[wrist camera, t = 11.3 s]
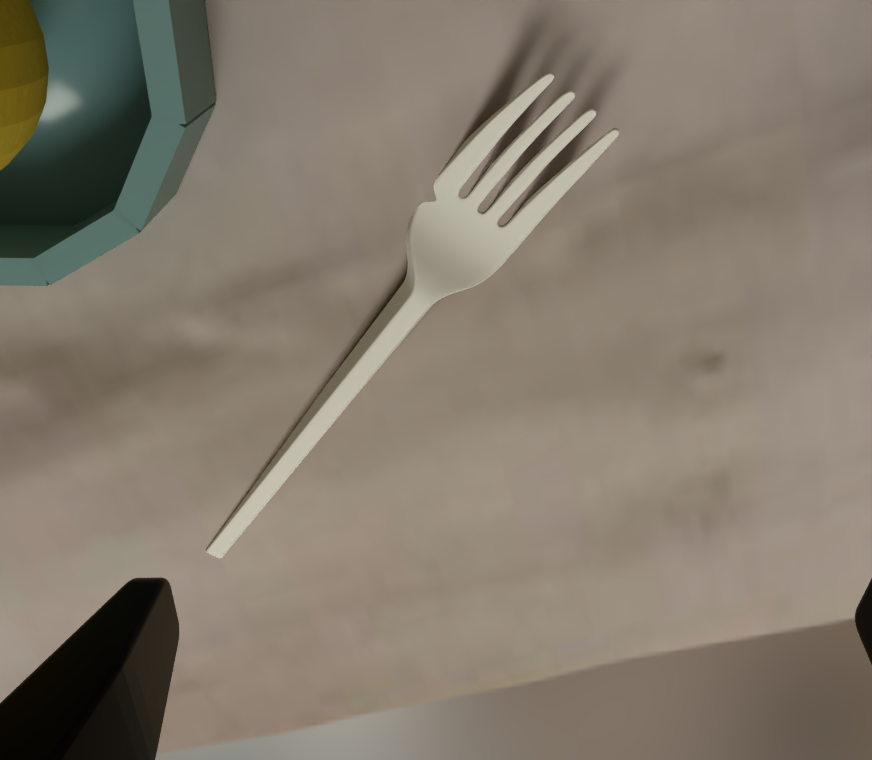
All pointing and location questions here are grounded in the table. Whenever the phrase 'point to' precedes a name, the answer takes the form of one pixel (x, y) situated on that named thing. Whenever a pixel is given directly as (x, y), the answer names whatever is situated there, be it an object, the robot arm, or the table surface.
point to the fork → (438, 266)
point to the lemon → (20, 76)
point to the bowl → (104, 131)
